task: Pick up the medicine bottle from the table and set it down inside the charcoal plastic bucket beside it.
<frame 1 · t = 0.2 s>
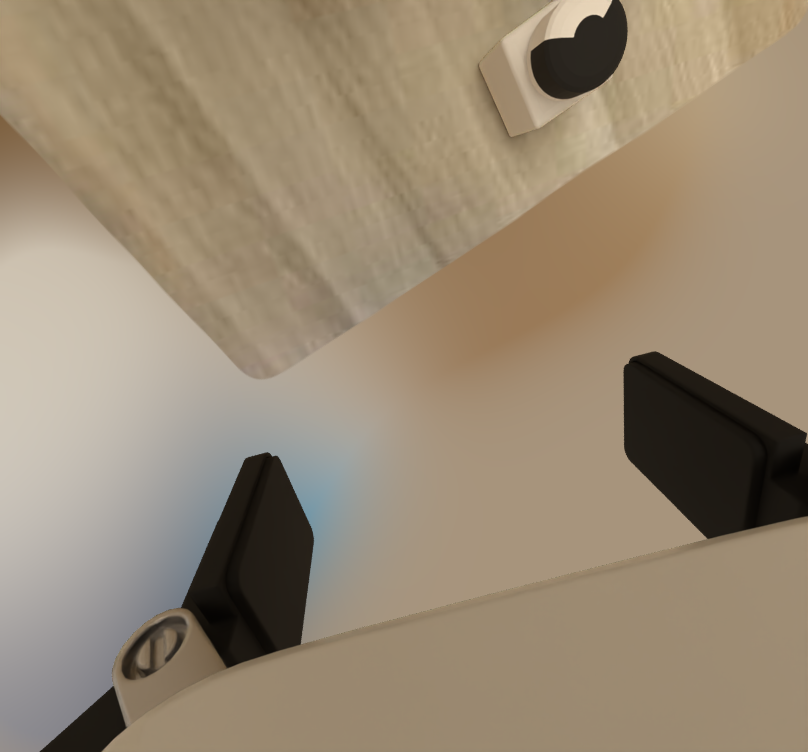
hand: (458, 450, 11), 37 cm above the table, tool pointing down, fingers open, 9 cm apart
medicine bottle: (525, 80, 39), on the table
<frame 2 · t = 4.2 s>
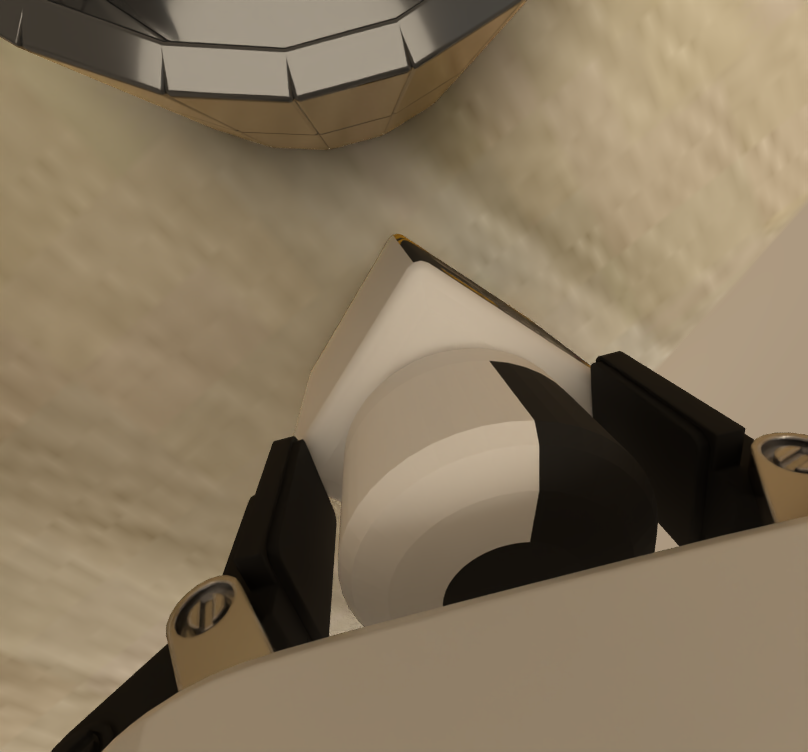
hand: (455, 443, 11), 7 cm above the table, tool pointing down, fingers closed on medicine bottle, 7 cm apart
medicine bottle: (419, 347, 18), on the table, touching gripper
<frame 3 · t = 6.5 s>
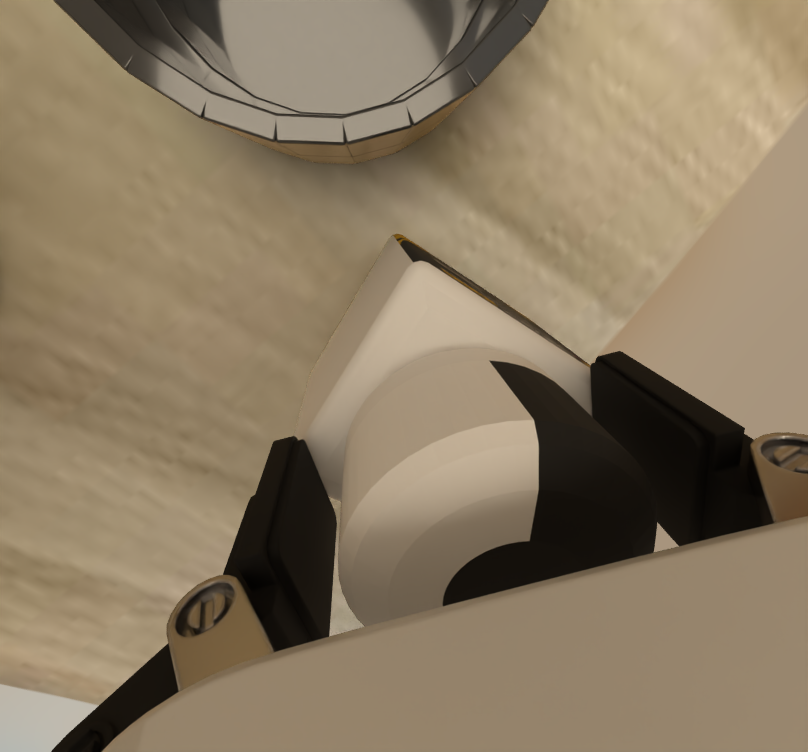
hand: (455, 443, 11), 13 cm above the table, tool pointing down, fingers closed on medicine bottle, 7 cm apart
medicine bottle: (419, 346, 18), point 5 cm above the table, touching gripper
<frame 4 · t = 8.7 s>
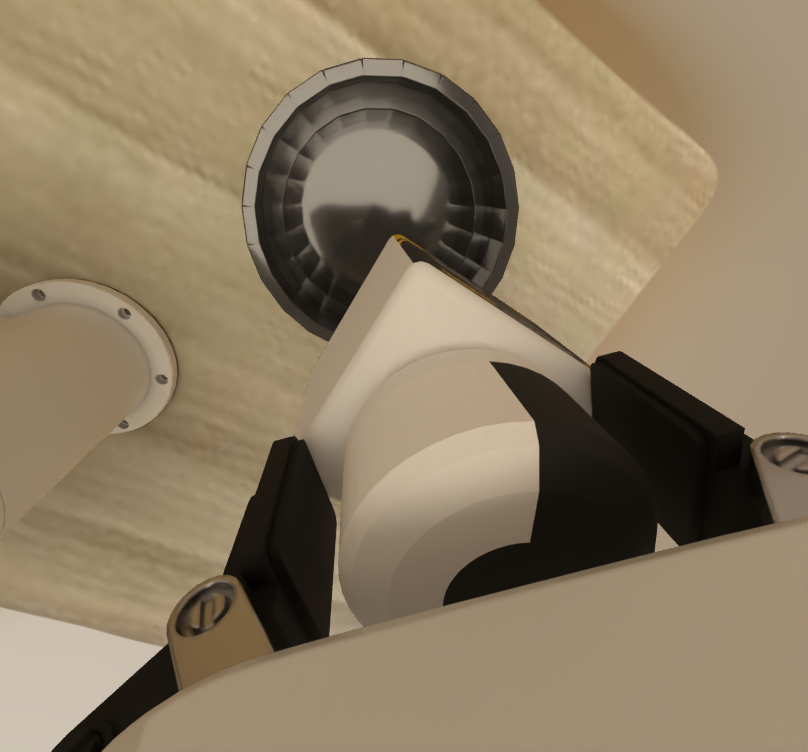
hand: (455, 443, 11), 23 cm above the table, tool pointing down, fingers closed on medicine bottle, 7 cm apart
bucket: (378, 215, 30), on the table
medicine bottle: (419, 347, 18), point 15 cm above the table, touching gripper
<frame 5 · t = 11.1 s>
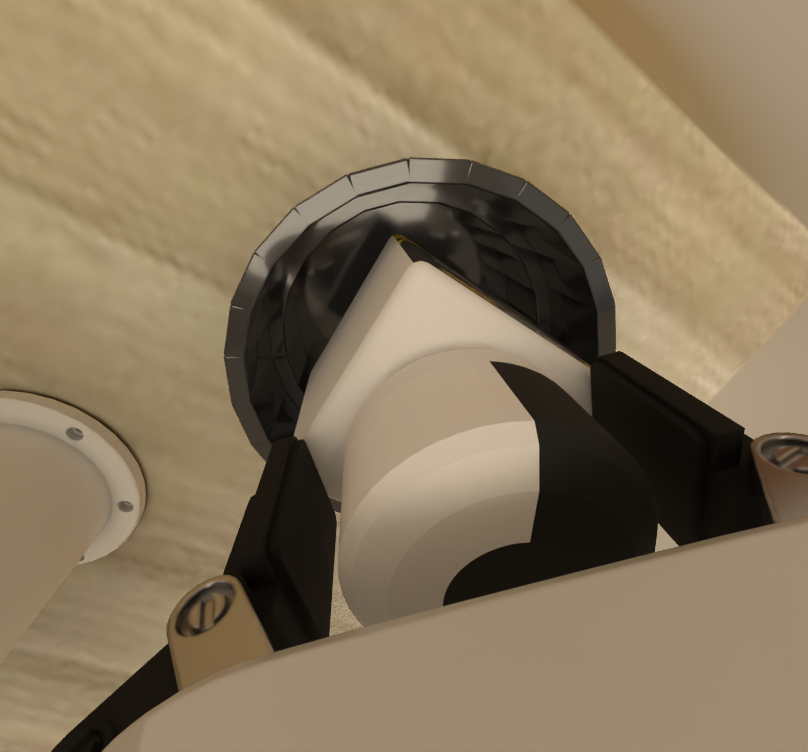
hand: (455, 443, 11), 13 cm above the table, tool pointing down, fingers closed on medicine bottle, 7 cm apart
bucket: (403, 312, 23), on the table
medicine bottle: (419, 347, 18), point 6 cm above the table, touching gripper
when the fingers open (8 cm above the table, at t = 13.1 s): medicine bottle stays where it is, resting on bucket.
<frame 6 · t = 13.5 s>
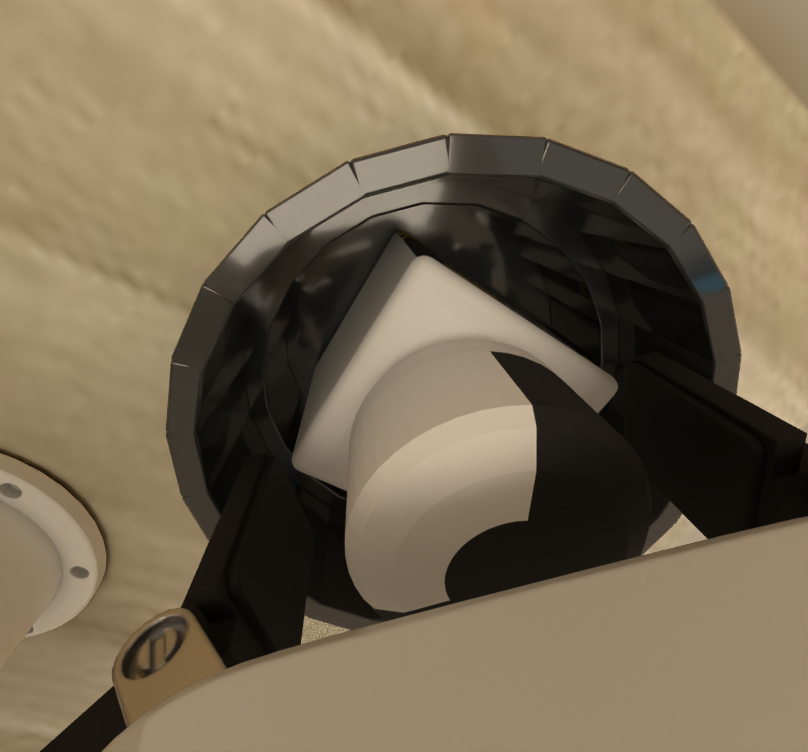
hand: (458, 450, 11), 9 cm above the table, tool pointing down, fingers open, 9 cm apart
bucket: (420, 340, 19), on the table
medicine bottle: (422, 342, 18), resting on bucket
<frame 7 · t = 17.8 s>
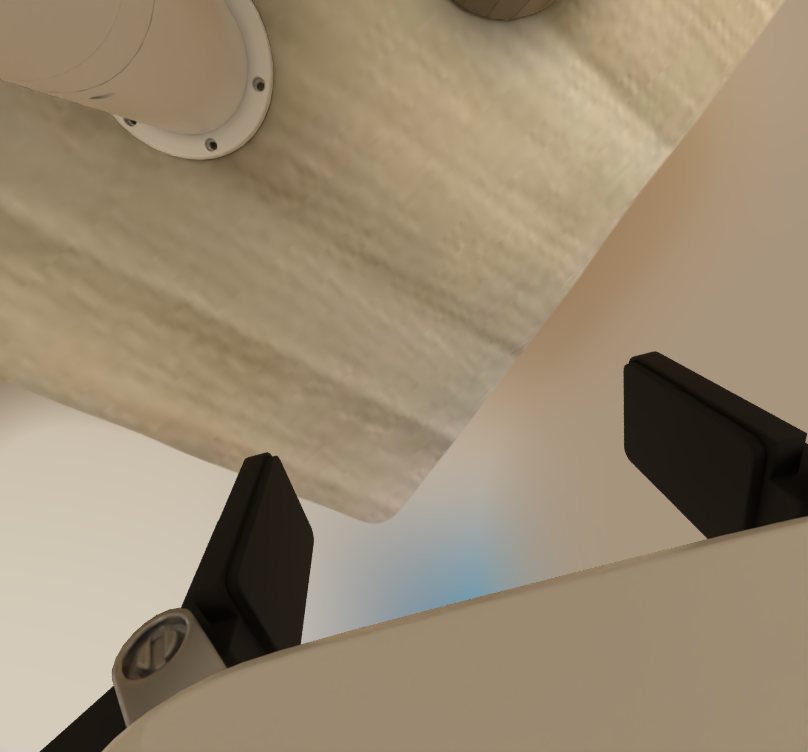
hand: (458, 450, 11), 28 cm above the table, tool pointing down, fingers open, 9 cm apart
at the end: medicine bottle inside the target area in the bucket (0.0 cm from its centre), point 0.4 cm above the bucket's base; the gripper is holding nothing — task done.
